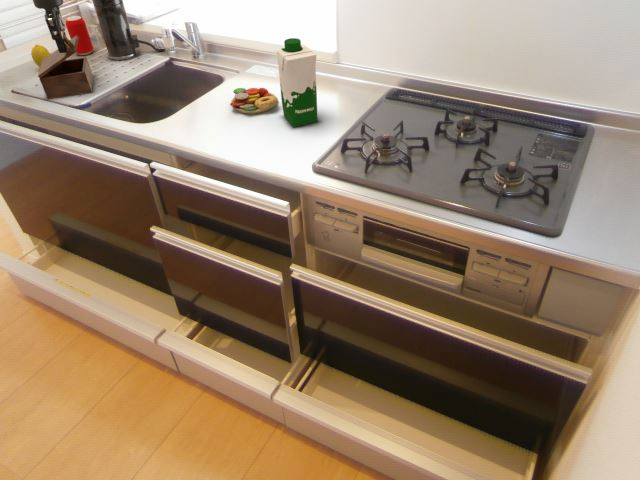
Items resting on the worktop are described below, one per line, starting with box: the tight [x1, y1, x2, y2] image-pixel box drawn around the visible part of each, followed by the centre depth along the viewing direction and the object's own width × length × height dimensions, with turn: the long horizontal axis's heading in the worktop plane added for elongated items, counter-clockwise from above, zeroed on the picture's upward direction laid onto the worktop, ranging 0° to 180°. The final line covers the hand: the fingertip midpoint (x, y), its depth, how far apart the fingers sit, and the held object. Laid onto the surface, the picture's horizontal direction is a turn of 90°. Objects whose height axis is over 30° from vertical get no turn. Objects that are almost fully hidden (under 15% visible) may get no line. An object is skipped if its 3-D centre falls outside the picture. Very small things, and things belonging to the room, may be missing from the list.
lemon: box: [30, 43, 51, 68], centre depth 167 cm, size 6×6×8 cm
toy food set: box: [229, 87, 279, 115], centre depth 141 cm, size 13×13×3 cm
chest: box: [39, 56, 94, 100], centre depth 155 cm, size 13×13×6 cm
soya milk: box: [276, 37, 319, 128], centre depth 129 cm, size 9×9×20 cm
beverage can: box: [65, 15, 94, 56], centre depth 176 cm, size 6×6×12 cm
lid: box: [37, 30, 78, 79], centre depth 149 cm, size 13×13×6 cm
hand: (64, 48), depth 150 cm, fingers closed on lid, 6 cm apart
